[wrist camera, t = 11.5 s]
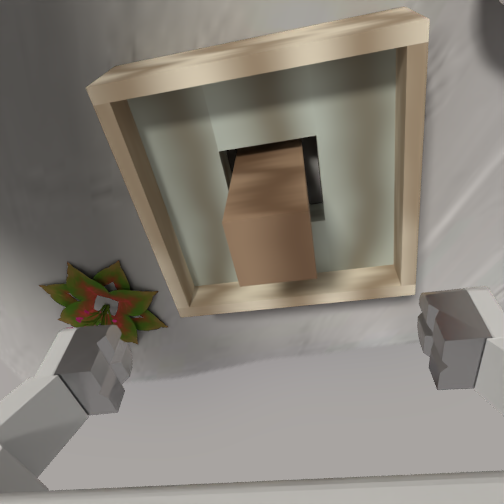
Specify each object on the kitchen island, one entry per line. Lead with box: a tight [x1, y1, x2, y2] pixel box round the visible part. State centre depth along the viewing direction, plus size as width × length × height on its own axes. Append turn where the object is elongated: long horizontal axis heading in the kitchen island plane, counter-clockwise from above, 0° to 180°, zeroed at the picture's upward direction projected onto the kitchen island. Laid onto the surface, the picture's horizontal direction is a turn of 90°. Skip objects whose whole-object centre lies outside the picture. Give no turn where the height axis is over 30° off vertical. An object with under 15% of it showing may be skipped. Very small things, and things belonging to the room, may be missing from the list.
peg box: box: [86, 7, 430, 318], centre depth 28 cm, size 18×18×5 cm
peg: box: [222, 138, 317, 287], centre depth 26 cm, size 4×4×10 cm
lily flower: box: [39, 260, 168, 344], centre depth 38 cm, size 12×12×5 cm
